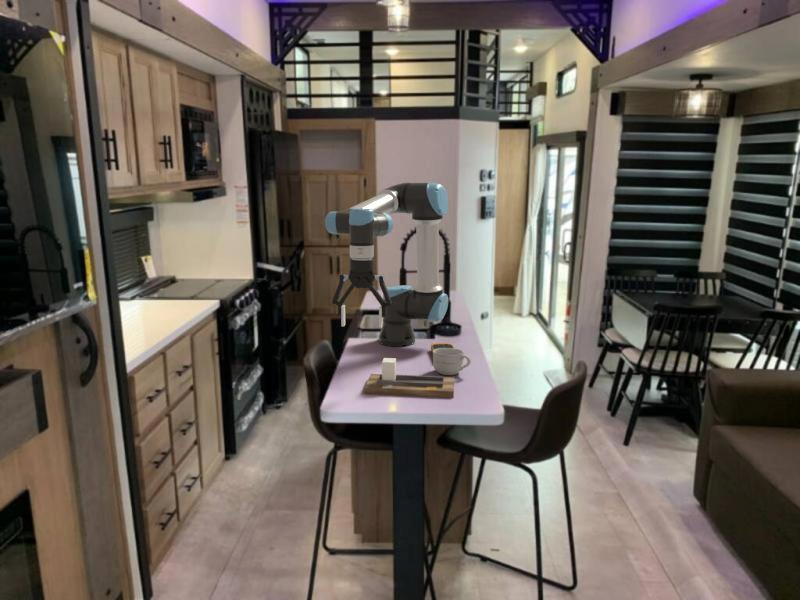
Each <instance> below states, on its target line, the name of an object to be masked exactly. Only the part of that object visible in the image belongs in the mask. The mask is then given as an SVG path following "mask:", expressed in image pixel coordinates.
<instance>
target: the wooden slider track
mask: <svg viewBox="0 0 800 600" xmlns="http://www.w3.org/2000/svg"><path fill="white" fill-rule="evenodd" d="M454 388H455V376H452V377H451V376H438V375H437V376H436V375H434V376H433V375H414V374H413V375H412V374H396V380H395V381H385V380H382V373H370V375H369V376H368V379H367V382H366V383H365V386H364V394H368V395H369V394H370V395H388V396H389V395H391V396H409V397H410V396H411V397H412V396H413V397H430V398H431V397H432V398H434V397H435V398H454V397H455V396H454V395H455V393H454V392H455V389H454Z"/></svg>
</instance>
